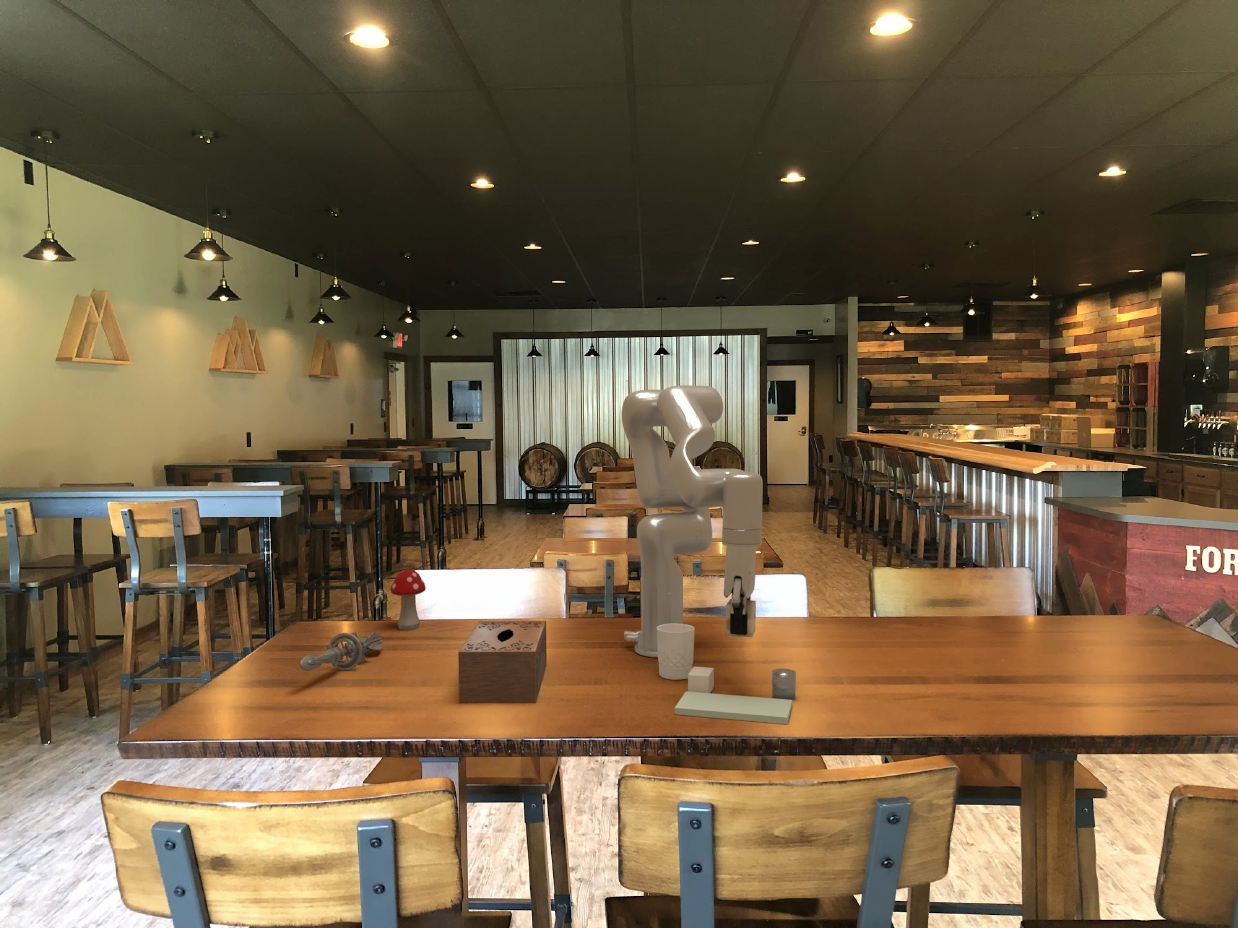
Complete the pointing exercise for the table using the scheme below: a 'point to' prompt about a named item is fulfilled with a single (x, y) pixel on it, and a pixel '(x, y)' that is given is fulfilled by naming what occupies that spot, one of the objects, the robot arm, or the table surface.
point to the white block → (701, 680)
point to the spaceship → (343, 651)
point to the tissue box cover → (503, 662)
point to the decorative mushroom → (408, 597)
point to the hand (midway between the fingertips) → (740, 629)
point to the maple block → (750, 623)
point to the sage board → (734, 707)
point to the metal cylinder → (784, 684)
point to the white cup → (675, 650)
